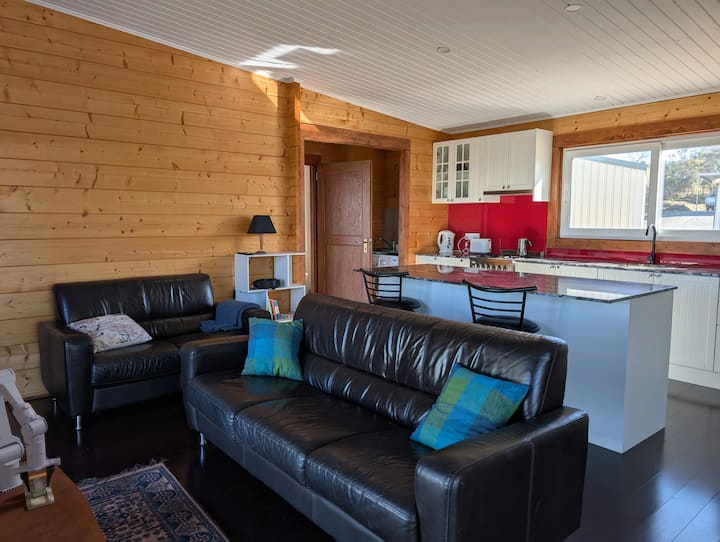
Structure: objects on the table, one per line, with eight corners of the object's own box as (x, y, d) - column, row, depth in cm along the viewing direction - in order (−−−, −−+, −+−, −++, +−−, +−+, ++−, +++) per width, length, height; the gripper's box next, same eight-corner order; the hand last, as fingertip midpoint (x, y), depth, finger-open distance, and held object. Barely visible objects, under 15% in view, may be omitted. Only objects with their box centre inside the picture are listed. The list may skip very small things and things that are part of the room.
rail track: (24, 492, 191) (23, 481, 191) (49, 485, 196) (49, 474, 195) (27, 510, 180) (27, 498, 180) (54, 502, 185) (53, 490, 184)
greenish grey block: (31, 493, 189) (30, 479, 188) (44, 489, 191) (43, 476, 190) (32, 497, 186) (31, 483, 185) (45, 493, 188) (44, 480, 188)
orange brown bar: (22, 482, 190) (22, 478, 190) (50, 475, 195) (50, 471, 195) (22, 485, 188) (22, 481, 188) (51, 477, 193) (51, 473, 193)
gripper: (12, 462, 179) (15, 499, 181) (60, 451, 188) (63, 486, 189) (11, 454, 185) (13, 491, 186) (58, 444, 193) (60, 478, 195)
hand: (38, 488), depth 188 cm, fingers open, 5 cm apart
